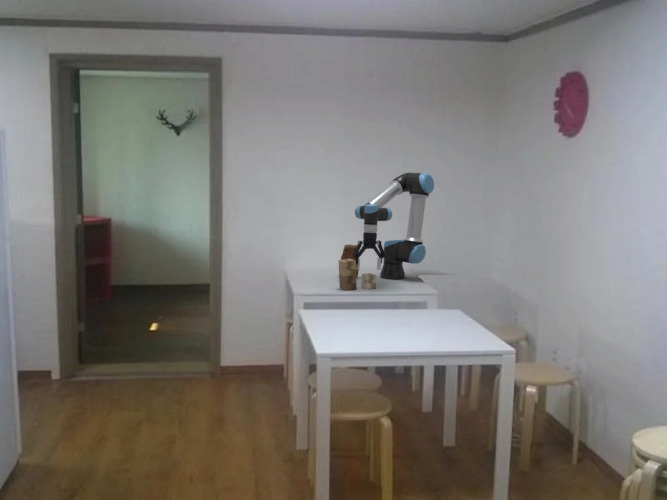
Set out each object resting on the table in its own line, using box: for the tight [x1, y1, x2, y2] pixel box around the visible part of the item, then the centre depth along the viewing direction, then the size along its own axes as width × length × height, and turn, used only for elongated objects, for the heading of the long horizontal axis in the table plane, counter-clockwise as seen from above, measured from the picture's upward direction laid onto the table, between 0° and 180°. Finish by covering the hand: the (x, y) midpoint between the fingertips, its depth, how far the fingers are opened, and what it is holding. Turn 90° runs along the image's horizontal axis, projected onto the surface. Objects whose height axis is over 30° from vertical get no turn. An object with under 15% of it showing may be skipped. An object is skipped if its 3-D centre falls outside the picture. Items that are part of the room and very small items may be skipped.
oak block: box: [338, 259, 356, 276], centre depth 401 cm, size 7×7×8 cm
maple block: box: [360, 272, 377, 290], centre depth 406 cm, size 6×6×8 cm
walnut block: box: [338, 273, 358, 291], centre depth 403 cm, size 7×7×8 cm
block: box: [340, 244, 360, 279], centre depth 438 cm, size 11×8×20 cm
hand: (368, 269), depth 405 cm, fingers open, 13 cm apart
